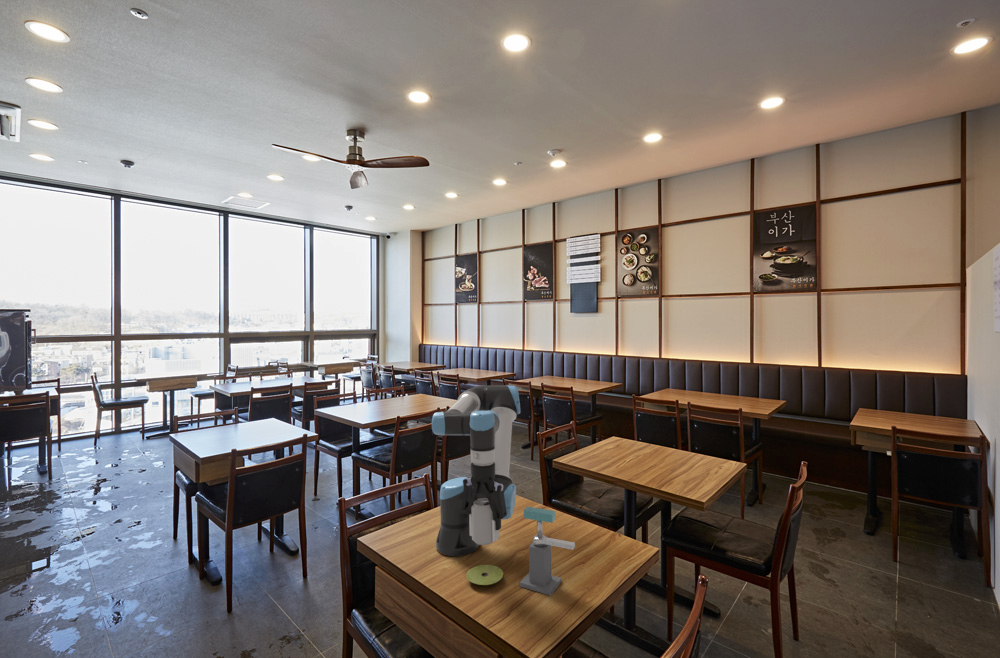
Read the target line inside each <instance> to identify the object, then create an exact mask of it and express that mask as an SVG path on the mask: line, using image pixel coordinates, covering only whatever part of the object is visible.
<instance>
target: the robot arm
mask: <svg viewBox="0 0 1000 658" xmlns="http://www.w3.org/2000/svg"><path fill="white" fill-rule="evenodd" d="M519 394H520V393H519V389H518V386H516V385H510V384H505V385H484V384H483V385H477V386H473V387H470V388H468V389H466V390H464V391H463V392H461V394H459V396H458V397H457V400H456V402H455V403H454V404H452V406H451V407H449V409H448V410H446V411H437V412H434V413H433V415H432V419H431V430H432V431H431V432H432V433H433V434H434V435H438V436H470V437H469V440H470V461H471V464H470V475H471V477H469V476H461V477H456V478H452V479H448V480H447V481H445V482H444V483H442V484H441V486H440V491H439V493H440V494H439V495H440V496H439V501H440V502H439V503H440V506H439V507H440V526H439V530H438V532H437V533H438V534H437V536H436V541H435V549H436V548H437V549H436V551H437V550H438V551H439V552H441V553H442V554H441V553H440V554H441V555H443V554H445V555H444V556H446V555H448V556H447V557H462V556H463V557H464V556H467V555H469V554H472V553H474V552H475V551H477V550H478V548H479V546H480V545H479V544H476V543H475V542H474V541H473V540H472V514H471V507H472V505H473V502H474V501H475V500H477V499H482V498H487V499H488V501H489V504H490V507H491V510H492V513H493V516H494V519H492V541H493V543H495V542H496V541H498V539H500V530H501V528H502V520H509V519H511V518H512V516H513V514H514V511H515V506H516V499H517V485H516V484H514V483H513V482H514V481H513V479H512V478H511V476H510V467H511V466H510V462H511V448H512V446H511V445H512V431H513V422H514V421H515V420H516V419H517V415H519V414H521V403H520V395H519ZM438 551H437V552H438ZM439 552H438V553H439Z"/></svg>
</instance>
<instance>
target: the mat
mask: <svg viewBox="0 0 1000 658" xmlns="http://www.w3.org/2000/svg"><path fill="white" fill-rule="evenodd" d="M503 577H504V571H503V570H502V569H501V568H500V567H499V566H496V565H492V564H480V565H479V564H478V565H476V566H473V567H472V568H470V569H469V570H468V571H467V573H466V579H467V580H468V582H470V583H472V584H474V585H475V584H476V585H479V586H481V585H482V586H489V585H494V584H496V583H498V582H499V581H501V580H502V578H503Z"/></svg>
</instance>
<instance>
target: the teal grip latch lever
mask: <svg viewBox="0 0 1000 658" xmlns="http://www.w3.org/2000/svg"><path fill="white" fill-rule="evenodd" d="M523 519H527V520H533V521H536V532H537V533H536V534H535V535H533V540H532V543H533V544H534V545H535V546H538V547H542V546H545V545H551V547H557V548H562V549H566V550H567V549H568V550H572V551H573V550H574V549H575V548H576V542H574V541H568V540H563V539H557V538H551V537H547V536H546V535H544V534H543V532H544V531H543V522H545V523H550V524H553V523H554V522H555V520H556V510H552V509H545V508H539V507H532V506H526V507H525V508H524V509H523Z"/></svg>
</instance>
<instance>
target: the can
mask: <svg viewBox="0 0 1000 658" xmlns="http://www.w3.org/2000/svg"><path fill="white" fill-rule="evenodd" d="M471 514H472V540H473V541H474V542H475V543H476V544H479V546H486V545H488V546H489V545H491V544H492V543H494V542H493V541H492V519H494V516H493V513H492V510H491V507H490V504H489V501H488V499H487V498H482V499H477V500H475V501H474V502H473V505H472V507H471Z"/></svg>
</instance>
